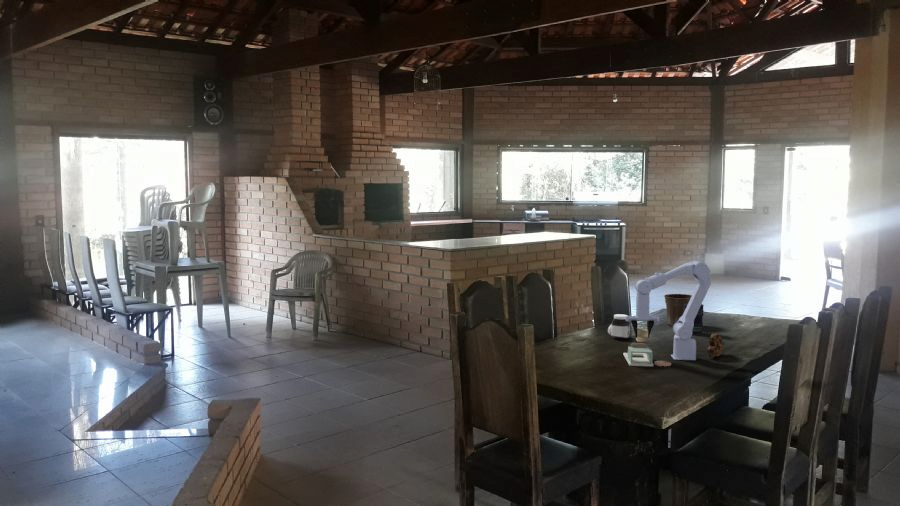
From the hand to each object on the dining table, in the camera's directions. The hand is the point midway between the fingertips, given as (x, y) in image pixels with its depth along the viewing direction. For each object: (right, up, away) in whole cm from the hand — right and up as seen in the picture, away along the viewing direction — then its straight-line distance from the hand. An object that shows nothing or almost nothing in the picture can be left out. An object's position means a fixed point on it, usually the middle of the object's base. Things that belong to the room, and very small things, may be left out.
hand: (642, 337), depth 326 cm
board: (-3, -10, -4) cm, 11 cm away
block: (0, -2, 0) cm, 2 cm away
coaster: (+6, -11, -11) cm, 16 cm away
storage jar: (+40, -4, +53) cm, 67 cm away
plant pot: (+39, -2, +73) cm, 83 cm away
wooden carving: (+34, -9, +4) cm, 36 cm away
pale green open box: (-3, -9, -9) cm, 13 cm away
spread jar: (-1, -5, +42) cm, 42 cm away
